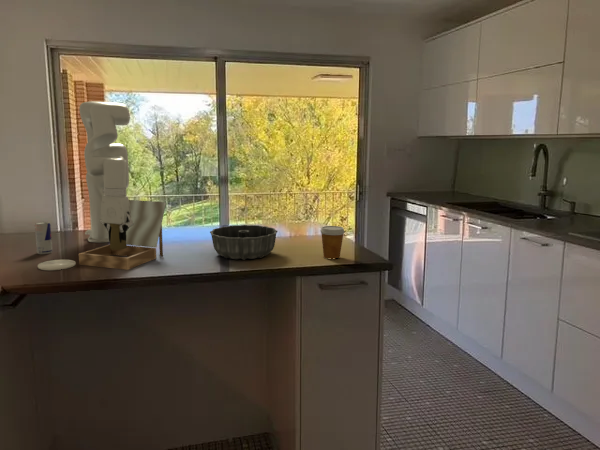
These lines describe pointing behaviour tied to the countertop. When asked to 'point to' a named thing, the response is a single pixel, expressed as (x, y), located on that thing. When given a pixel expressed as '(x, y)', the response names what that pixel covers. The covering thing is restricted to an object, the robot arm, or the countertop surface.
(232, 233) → the bundt pan
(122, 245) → the cork
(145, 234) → the cold frame
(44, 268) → the saucer
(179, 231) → the countertop surface
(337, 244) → the disposable coffee cup
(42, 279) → the countertop surface
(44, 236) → the energy drink
